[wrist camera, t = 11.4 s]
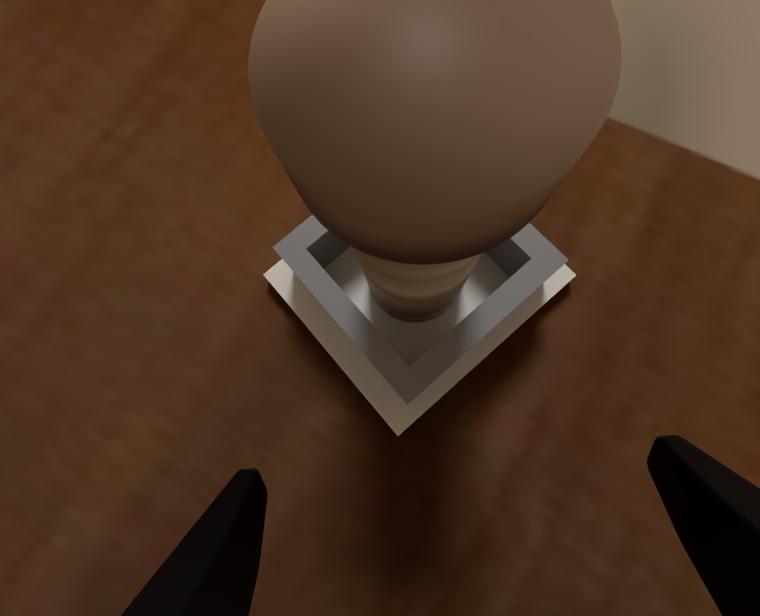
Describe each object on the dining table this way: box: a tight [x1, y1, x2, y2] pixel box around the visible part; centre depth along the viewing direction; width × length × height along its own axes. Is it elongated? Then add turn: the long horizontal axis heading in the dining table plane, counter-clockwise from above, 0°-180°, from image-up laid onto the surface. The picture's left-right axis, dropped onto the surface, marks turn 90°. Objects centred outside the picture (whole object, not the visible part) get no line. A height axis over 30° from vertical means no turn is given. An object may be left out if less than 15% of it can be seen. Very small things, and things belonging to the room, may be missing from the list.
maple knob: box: [248, 0, 621, 323], centre depth 12 cm, size 6×6×13 cm
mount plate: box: [263, 215, 576, 436], centre depth 18 cm, size 10×11×4 cm
